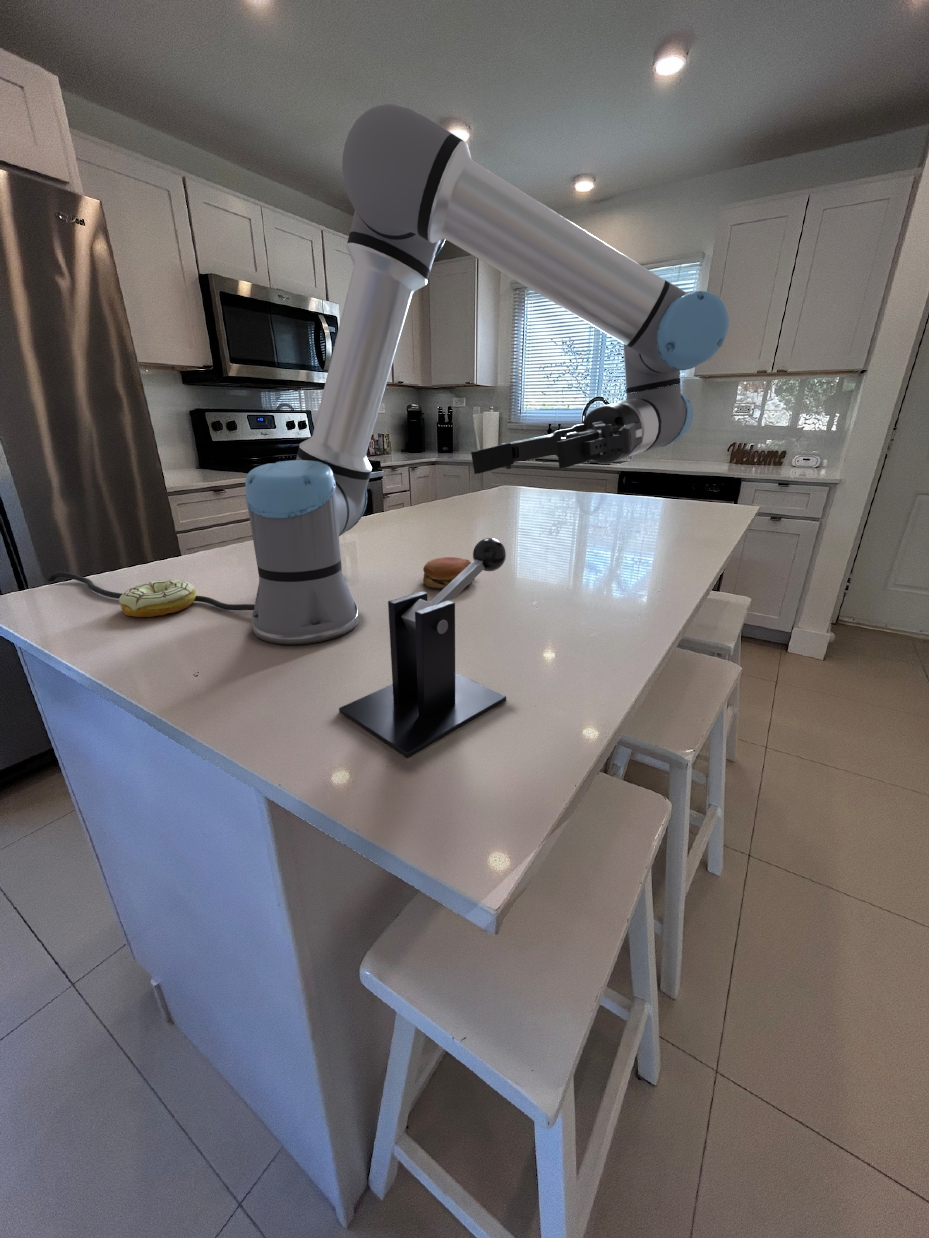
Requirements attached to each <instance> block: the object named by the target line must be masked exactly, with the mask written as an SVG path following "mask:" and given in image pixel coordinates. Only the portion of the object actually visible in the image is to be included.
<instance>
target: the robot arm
mask: <svg viewBox="0 0 929 1238" xmlns="http://www.w3.org/2000/svg"><path fill="white" fill-rule="evenodd" d="M341 161H342V162H341V170H342V178H343V184H344V188H345V191H346V194H347V198H348V199H349V201H350V204H351V206H352V207H353V209H354V212H353V218H352V221H351V225H350V228H349V229H350V230H349V234H348V238H347V241H346V250H347V252H348V254H349V256H350V259H351V261H352V265H353V268H352V272H351V277H350V280H349V284H348V287H347V288H348V289H347V293H346V297H345V301H344V304H343V309H342V313H341V318H340V321H339V326H338V329H337V333H336V338H335V342H334V345H333V350H332V355H331V358H330V362H329V366H328V371H327V375H326V378H325V383H324V387H323V391H322V394H321V399H320V402H319V408H318V412H317V416H316V419H315V424H314V428H313V432H312V436H310V437H309V438H307V439H305V440H304V441H301V442H300V443H299V444H298V450H297V454H296V458H295V460H294V459H293V460H282V461H276V462H273V463H266V464H265V463H264V464H261V465H259V466H256V467H254V468H253V469H251V470H250V471H249V472H248V473H247V475H246V477H245V481H244V484H245V496H244V497H245V504H246V507H247V511H248V518H249V523H250V530H251V535H252V541H253V549H254V555H255V561H256V566H257V567H256V568H257V574H258V584H257V585H258V586H257V590H256V596H255V601H254V603H239V604H236V603H235V604H232V603H231V604H230V603H224V602H221V601H219V600H217V599H214V598H212V597H208V596H203V595H196V597H195V599H194V602H199V603H200V602H201V603H206V604H209V605H212V606H214V607H216V608H218V609H221V610H226V611H232V612H233V611H235V612H236V611H253V613H252V616H251V617H252V621H251V623H252V629H253V634H254V635H255V636H256V637H257V638H259V639H260V640H263V641H265V642H268V643H271V644H272V643H273V644H277V645H278V644H279V645H308V644H315V643H321V642H324V641H325V642H326V641H329V640H333V639H335V638H338V637H341V636H343V635H345V634H347V633H349V632H351V631H352V630H354V629H355V628H356V626H357V625H358V624H359V607H358V603H357V601H356V600H355V599H354V597H353V595H352V593H351V590H350V588H349V586H348V583H347V581H346V579H345V576H344V573H343V569H342V568H343V567H342V566H343V565H342V558H341V557H342V555H341V545H340V537H341V536H342V535H343V534H345V533H346V532H348V531H350V530H352V529H353V528H354V527H355V526H356V525H357V524H358V523H359V522H360V520H361V519H362V518H363V515H364V513H365V511H366V509H367V504H368V488H367V487H368V485H369V481H370V477H371V474H372V469H373V467H372V465H371V463H370V461H369V460H368V459H369V458H368V456H367V453H368V449H369V446H370V442H371V440H372V435H373V432H374V428H375V425H376V422H377V419H378V415H379V411H380V408H381V405H382V401H383V397H384V393H385V390H386V388H387V383H388V380H389V377H390V373H391V369H392V367H393V362H394V359H395V355H396V352H397V348H398V345H399V341H400V338H401V334H402V331H403V327H404V324H405V322H406V321H405V320H406V317H407V314H408V311H409V307H410V304H411V301H412V297H413V294H414V293H415V292H417V291H418V290H420V289H422V288H423V287H425V286H427V284H428V280H429V277H430V274H431V272H432V271H431V270H432V267H433V263H434V260H435V258H436V257H437V256H438V254H439V253H440V252H441V250H442V248H443V247H444V245H445V241H447V242H449V243H451V244H453V245H454V246H456V247H458V248H460V249H461V250H463V251H465V252H466V253H468V254H470V255H472V256H473V257H475V258H477V259H478V260H480V261H482V262H483V263H485V264H487V265H489V266H491V267H492V268H494V269H496V270H497V271H499V272H501V273H502V274H504V275H505V276H507V277H509V278H511V279H513V280H514V281H515V282H517V283H519V284H521V285H523V286H524V287H526V288H528V289H530V290H531V291H533V292H534V293H536V294H538V295H540V296H541V297H543V298H545V299H547V300H549V301H550V302H551V303H553V304H555V305H557V306H559V307H560V308H562V309H564V310H565V311H567V312H569V313H571V314H572V315H574V316H576V317H577V318H579V319H580V320H582V321H584V322H586V323H588V324H590V325H591V326H592V327H594V328H596V329H598V330H599V331H601V332H603V333H605V334H607V335H608V336H610V337H611V338H613V339H615V340H617V341H618V342H620V343H622V346H623V361H624V377H625V378H624V379H625V393H626V400H621V401H616V402H614V403H609V404H603V405H599V406H597V407H595V408H593V409H591V410H590V411H589V412H588V413H587V415H586V416H585V417H584V420H583V421H582V423H580V424H576V425H572V426H571V427H569V428H565V429H559V430H555V431H553V432H552V433H550V434H546V435H541V436H540V435H539V436H536V437H530V438H525V439H521V440H515V441H511V442H505V443H504V442H499V443H498V444H496V445H495V446H490V447H486V448H481V449H478V450H473V451H471V452H470V455H471V461H472V466H473V473H474V475H477V474H478V475H479V474H483V473H486V472H490V471H493V470H496V469H501V468H504V467H505V468H506V470H511V469H512V465H514V464H515V463H518V462H522V461H527V460H529V461H530V460H533V459H539V458H545V457H550V456H555V457H556V458H558V468H559V469H566V468H568V467H573V466H576V465H579V464H582V463H586V462H589V461H592V462H595V463H597V464H600V465H601V464H602V465H607V464H612V463H614V462H617V461H620V460H623V459H627V461H633V460H634V458H635V455H637V454H638V455H639V454H641V453H644V452H648V451H650V450H654V449H658V448H661V447H663V448H664V447H667V446H668V445H670V444H672V443H674V442H676V441H678V440H680V439H681V438H682V437H684V436H685V434H686V433H687V432H688V431H689V429H690V428H691V426H692V424H693V423H692V422H693V419H694V408H693V404H692V403H691V400H689V397H688V396H687V395H685V394H683V393H682V392H681V391H682V389H681V386H682V383H681V372H682V371H683V372H684V371H688V370H691V369H694V368H697V367H698V366H700V365H701V364H703V363H706V362H707V361H708V360H709V359H711V358H713V356H715V354H716V353H717V352H718V351H720V348H721V347H722V346H723V344H724V342H725V339H726V337H727V335H728V331H729V324H730V323H729V321H730V320H729V319H730V318H729V313H728V309H727V307H726V305H725V303H724V302H723V300H722V299H721V298H720V296H717V294H715V293H712V292H710V291H707V290H698V291H697V290H695V291H688V292H686V291H685V290H684V289H681V288H680V287H678V286H676V285H675V284H673V283H671V282H670V281H668V280H666V279H664V278H662V277H661V276H659V275H658V274H656V273H654V272H653V271H651V270H650V269H648V268H646V267H645V266H643V265H641V264H640V263H638V262H637V261H635V260H633V259H632V258H630V257H629V256H627V255H625V254H624V253H622V252H621V251H620V250H617V249H616V248H614V247H612V246H611V245H609V244H607V243H606V242H605V241H603V240H601V239H599V238H598V237H597V236H594V235H593V234H591V233H590V232H588V231H587V230H585V229H583V228H582V227H580V226H579V225H577V224H576V223H574V222H572V221H570V220H569V219H567V218H566V217H564V216H562V215H561V214H560V213H558V212H556V211H555V210H554V209H551V208H550V207H548V206H546V205H545V204H544V203H542V202H540V201H538V199H535V198H533V197H532V196H530V195H529V194H528V193H525V192H524V191H523V190H521V189H520V188H518V187H516V186H514V185H513V184H512V183H509V182H508V181H506V180H505V179H503V178H501V177H500V176H499V175H496V174H495V173H493V172H492V171H490V170H489V169H487V168H485V167H484V166H483V165H481V164H479V163H477V162H476V161H474V160H473V158H472V155H471V151H470V148H469V144H468V143H467V141H465V140H463V139H462V138H460V137H459V136H457V135H455V134H454V133H452V132H451V131H449V130H447V129H445V128H444V127H443V126H441V125H440V124H437V123H436V122H435V121H433V120H431V119H430V118H428V117H426V116H425V115H423V114H421V113H420V112H417V111H415V110H413V109H412V108H410V107H407V106H404V105H399V104H395V103H384V104H379V105H376V106H373V107H371V108H369V109H367V110H366V111H365V112H363V113H362V114H361V115H360V116H358V118H357V119H356V120H355V122H354V123H353V125H352V126H351V128H350V130H349V131H348V134H347V136H346V139H345V142H344V145H343V152H342V159H341ZM562 435H565V436H564V437H563V436H562ZM57 578H68V579H70V580H74V581H78V582H80V583H83V584H86V586H87V588H88V589H89V590H90V591H92V592H95V593H97V594H99V595H101V596H104V597H108V598H112V599H118V600H119V598H120V596H121V595H123V594H124V593H121V592H117V591H111V590H107V589H103V588H102V587H99V586H97V585H95V584H94V583H93V581H92V580H91V579H89V578H87V577H84V576H81V575H78V574H75V573H72V572H67V571H55V572H53V573H51V574H50V575H49V577H48V578H47V582H54V581H55V580H56V579H57Z"/></svg>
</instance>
